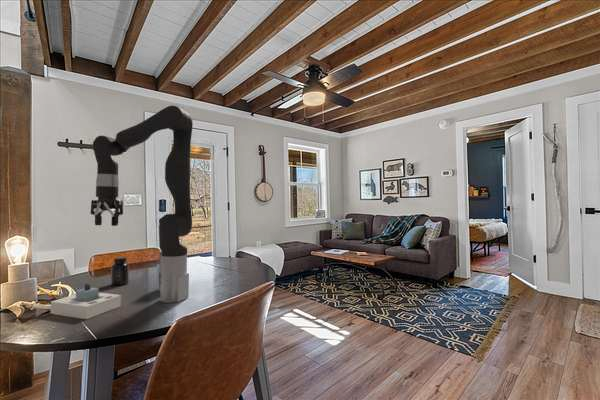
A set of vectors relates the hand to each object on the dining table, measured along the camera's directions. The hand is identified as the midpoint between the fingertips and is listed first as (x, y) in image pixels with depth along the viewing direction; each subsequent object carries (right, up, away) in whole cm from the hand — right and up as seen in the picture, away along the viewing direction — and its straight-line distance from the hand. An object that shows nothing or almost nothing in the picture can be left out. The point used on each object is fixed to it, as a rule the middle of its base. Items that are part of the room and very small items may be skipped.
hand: (106, 225), depth 112 cm
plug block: (+5, -28, -17) cm, 33 cm away
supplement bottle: (-4, -29, +15) cm, 33 cm away
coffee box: (+21, -29, +10) cm, 37 cm away
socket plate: (+5, -28, -17) cm, 33 cm away
